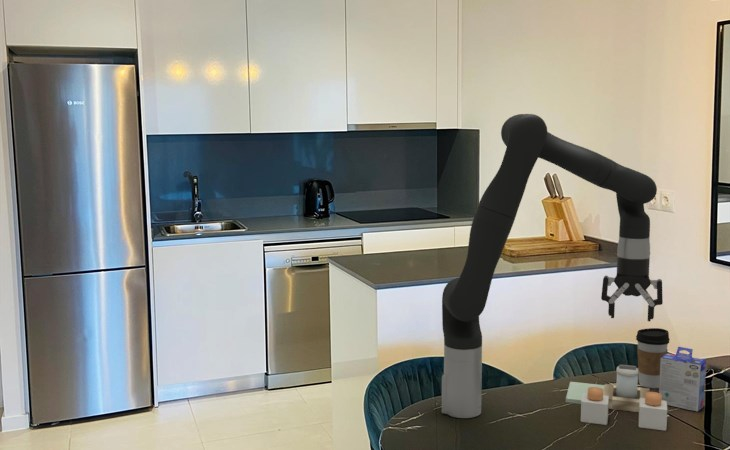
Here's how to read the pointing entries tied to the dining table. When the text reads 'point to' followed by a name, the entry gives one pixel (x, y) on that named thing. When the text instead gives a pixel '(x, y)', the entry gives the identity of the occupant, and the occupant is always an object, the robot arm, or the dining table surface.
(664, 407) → the plunger posts
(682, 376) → the ink cartridge box
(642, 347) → the coffee cup
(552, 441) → the dining table surface
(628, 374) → the canister
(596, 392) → the plunger left
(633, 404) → the collar
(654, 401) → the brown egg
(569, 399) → the mat
